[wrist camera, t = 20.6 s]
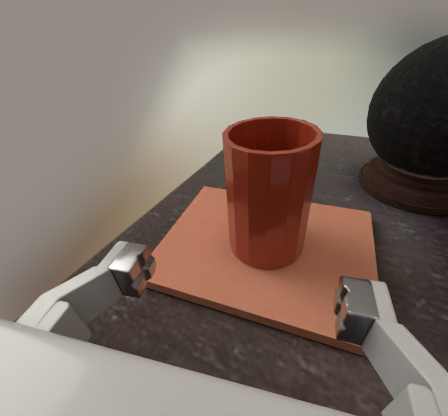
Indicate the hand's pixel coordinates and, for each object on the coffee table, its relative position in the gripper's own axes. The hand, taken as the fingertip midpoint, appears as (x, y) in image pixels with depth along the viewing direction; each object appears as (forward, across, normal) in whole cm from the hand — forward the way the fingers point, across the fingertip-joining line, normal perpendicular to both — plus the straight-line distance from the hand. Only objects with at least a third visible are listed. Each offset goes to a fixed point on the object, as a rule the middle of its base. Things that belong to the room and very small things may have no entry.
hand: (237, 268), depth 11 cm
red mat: (+10, 0, +9) cm, 13 cm away
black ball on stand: (+23, -16, +9) cm, 29 cm away
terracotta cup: (+10, 0, +8) cm, 12 cm away
